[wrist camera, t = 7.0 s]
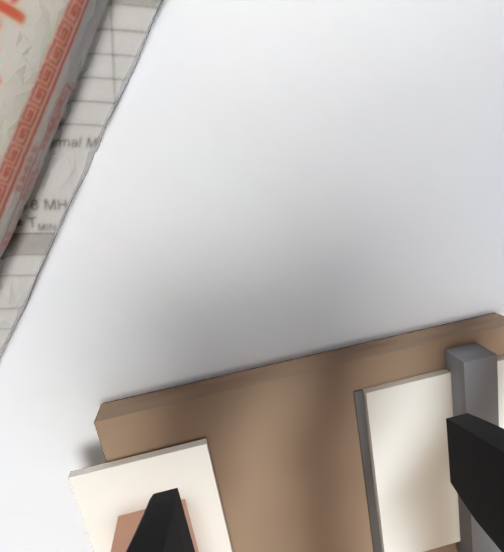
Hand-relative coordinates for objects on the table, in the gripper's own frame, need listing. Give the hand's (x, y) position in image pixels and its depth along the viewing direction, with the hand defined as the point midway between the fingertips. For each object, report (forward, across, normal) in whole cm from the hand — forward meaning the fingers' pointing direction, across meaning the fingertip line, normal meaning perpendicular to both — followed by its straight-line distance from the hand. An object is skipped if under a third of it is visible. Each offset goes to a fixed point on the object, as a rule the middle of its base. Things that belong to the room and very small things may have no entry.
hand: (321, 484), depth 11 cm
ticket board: (+9, -2, +8) cm, 12 cm away
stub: (+8, +6, +8) cm, 13 cm away
